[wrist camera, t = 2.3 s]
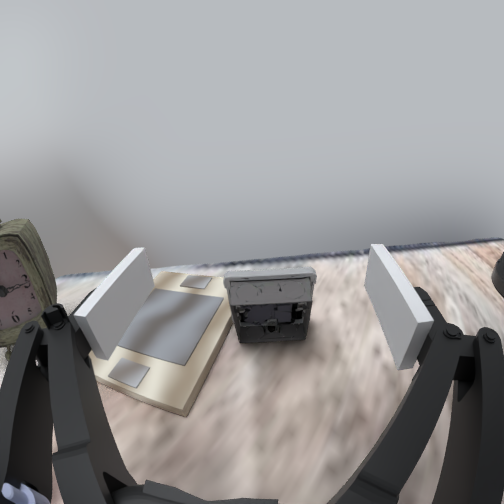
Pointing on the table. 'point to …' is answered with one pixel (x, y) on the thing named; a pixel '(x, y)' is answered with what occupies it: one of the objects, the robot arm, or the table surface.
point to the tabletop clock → (22, 280)
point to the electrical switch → (270, 303)
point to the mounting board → (170, 342)
